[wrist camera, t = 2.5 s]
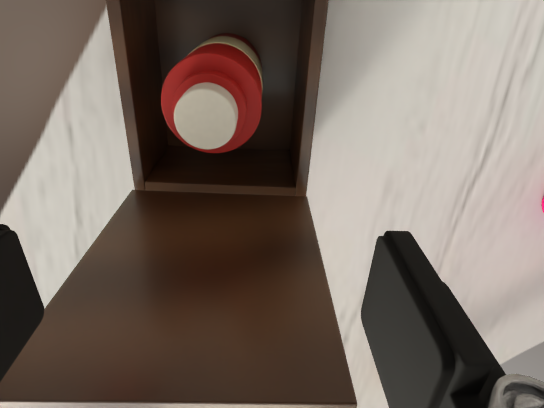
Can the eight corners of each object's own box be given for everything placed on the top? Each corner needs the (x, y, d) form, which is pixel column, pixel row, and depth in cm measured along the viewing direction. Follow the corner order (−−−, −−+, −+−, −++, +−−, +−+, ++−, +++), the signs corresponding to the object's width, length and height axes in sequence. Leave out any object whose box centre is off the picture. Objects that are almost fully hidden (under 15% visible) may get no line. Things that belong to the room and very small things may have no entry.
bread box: (141, -47, 26) (95, -64, 19) (314, -36, 27) (334, -48, 19) (162, 149, 34) (134, 191, 26) (296, 155, 34) (305, 197, 27)
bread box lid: (-24, 400, 12) (18, 481, 14) (358, 404, 12) (337, 481, 15) (132, 189, 26) (140, 247, 28) (307, 195, 26) (300, 252, 29)
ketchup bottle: (193, 30, 28) (139, 56, 16) (264, 34, 28) (265, 62, 16) (196, 101, 31) (153, 170, 18) (261, 105, 31) (260, 175, 19)
